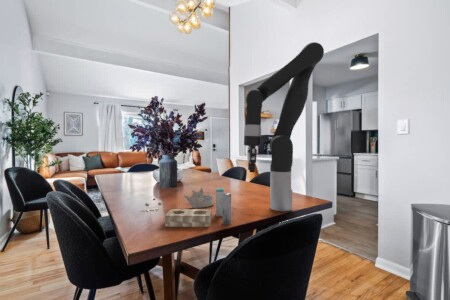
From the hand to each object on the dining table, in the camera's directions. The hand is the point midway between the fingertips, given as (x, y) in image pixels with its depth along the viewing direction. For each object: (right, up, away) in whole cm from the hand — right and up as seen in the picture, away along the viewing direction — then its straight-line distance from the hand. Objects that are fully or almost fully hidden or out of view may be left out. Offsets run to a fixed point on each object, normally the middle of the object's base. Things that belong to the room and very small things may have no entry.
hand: (251, 171), depth 107 cm
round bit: (-11, -18, -19) cm, 28 cm away
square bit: (-14, -18, -9) cm, 24 cm away
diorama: (-47, -18, +8) cm, 50 cm away
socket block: (-25, -18, -19) cm, 36 cm away
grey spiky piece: (-24, -17, +7) cm, 30 cm away
